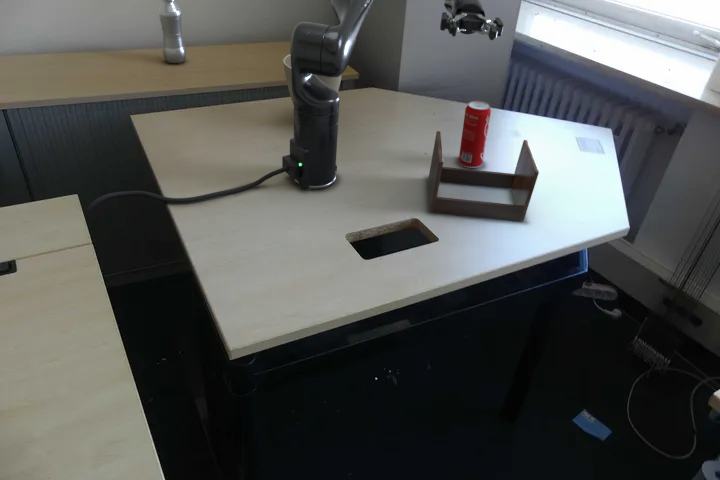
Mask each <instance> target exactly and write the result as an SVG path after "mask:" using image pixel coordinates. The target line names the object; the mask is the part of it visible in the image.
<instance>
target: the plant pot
mask: <svg viewBox="0 0 720 480" xmlns="http://www.w3.org/2000/svg"><path fill="white" fill-rule="evenodd" d="M282 62H283V69H284V75H285V80H286V84H287V88H288V92H289V96H290V100H291V102H292V106H293V107H294V99H293V93H292V72H291V53H290V54H289V53H288V55H286V56H284V58H283V60H282ZM317 76H318V78H319V79H320V80H322V81H323V82H324V83H326V84H327V85H329V86H330V87H332V88H333V89H335V90H336V91H337V92H338V93H339V89H340V85H341V81H342V76H343V74H342V75H340V76H339V77H325V76H319V75H317Z"/></svg>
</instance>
